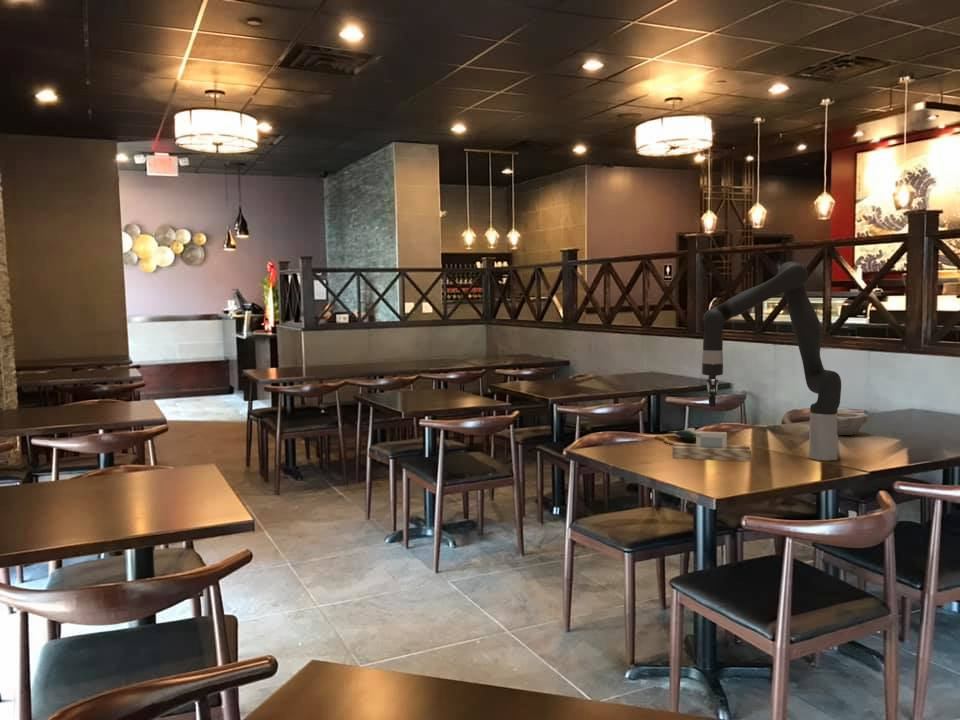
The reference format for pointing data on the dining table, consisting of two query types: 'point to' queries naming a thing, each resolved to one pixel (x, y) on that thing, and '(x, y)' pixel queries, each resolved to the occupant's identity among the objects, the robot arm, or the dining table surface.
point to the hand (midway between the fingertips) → (712, 404)
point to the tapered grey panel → (711, 439)
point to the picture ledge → (712, 452)
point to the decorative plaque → (679, 437)
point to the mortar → (850, 422)
